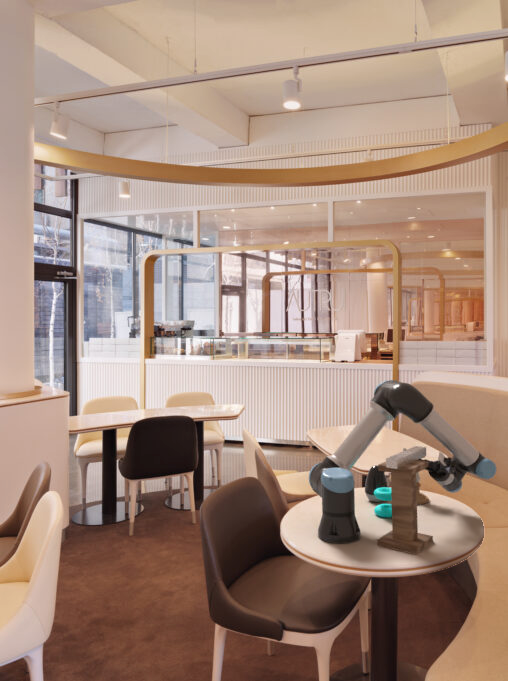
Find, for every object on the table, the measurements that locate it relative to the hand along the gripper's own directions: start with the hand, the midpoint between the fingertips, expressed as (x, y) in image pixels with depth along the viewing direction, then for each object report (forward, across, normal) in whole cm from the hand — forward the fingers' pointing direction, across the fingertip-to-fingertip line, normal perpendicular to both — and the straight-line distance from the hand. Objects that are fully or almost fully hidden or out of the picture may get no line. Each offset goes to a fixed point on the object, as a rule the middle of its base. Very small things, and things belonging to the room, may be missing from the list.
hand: (421, 453), depth 208 cm
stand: (-3, +1, -32) cm, 32 cm away
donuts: (-24, +20, -19) cm, 37 cm away
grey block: (+9, +1, -6) cm, 11 cm away
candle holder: (-45, +18, -7) cm, 49 cm away
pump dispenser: (-37, +32, -12) cm, 50 cm away
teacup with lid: (-47, +35, -6) cm, 59 cm away
